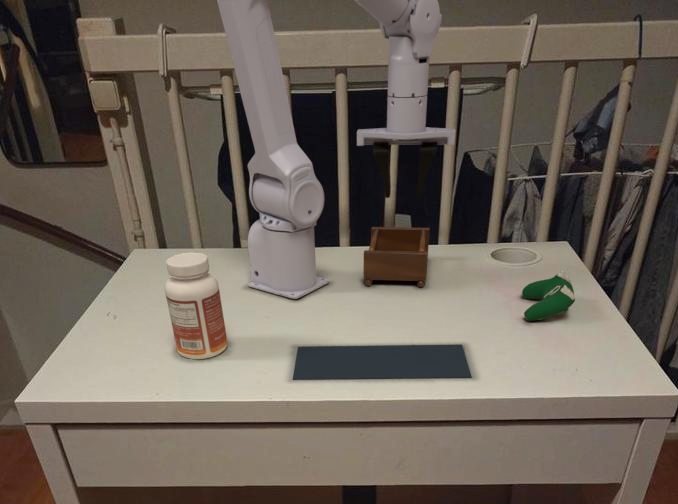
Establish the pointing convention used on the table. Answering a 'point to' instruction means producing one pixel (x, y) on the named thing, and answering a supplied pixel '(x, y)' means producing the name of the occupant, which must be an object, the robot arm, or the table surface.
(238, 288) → the table surface
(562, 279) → the green slippers
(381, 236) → the brown wooden box
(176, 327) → the pill bottle
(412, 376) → the mat
